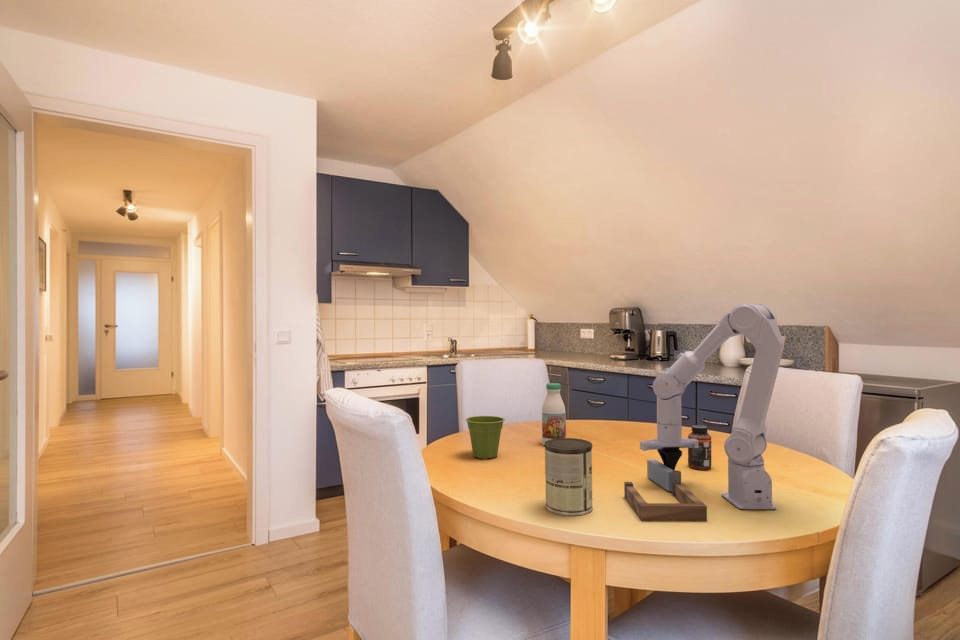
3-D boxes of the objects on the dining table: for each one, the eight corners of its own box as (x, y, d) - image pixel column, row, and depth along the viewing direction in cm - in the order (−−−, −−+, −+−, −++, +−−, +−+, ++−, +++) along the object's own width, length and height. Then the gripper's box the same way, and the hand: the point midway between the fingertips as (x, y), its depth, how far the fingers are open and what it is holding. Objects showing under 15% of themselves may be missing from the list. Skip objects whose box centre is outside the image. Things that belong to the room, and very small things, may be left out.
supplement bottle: (713, 471, 142) (713, 428, 142) (690, 470, 144) (690, 428, 144) (708, 465, 148) (708, 424, 148) (686, 464, 149) (686, 423, 149)
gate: (676, 491, 125) (676, 471, 125) (668, 491, 125) (668, 472, 125) (654, 476, 137) (654, 458, 137) (647, 476, 137) (646, 459, 137)
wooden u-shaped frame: (707, 520, 108) (707, 493, 108) (641, 520, 108) (641, 493, 108) (679, 493, 124) (679, 470, 124) (622, 493, 125) (622, 470, 125)
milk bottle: (537, 443, 175) (537, 383, 175) (557, 441, 178) (556, 381, 178) (550, 449, 168) (549, 385, 168) (570, 446, 171) (570, 384, 171)
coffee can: (541, 499, 121) (541, 438, 121) (586, 499, 121) (586, 437, 121) (549, 516, 111) (548, 449, 111) (598, 515, 111) (597, 448, 111)
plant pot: (511, 459, 156) (511, 420, 156) (474, 463, 152) (473, 424, 152) (495, 449, 167) (495, 414, 167) (460, 453, 163) (459, 417, 163)
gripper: (687, 418, 136) (687, 471, 136) (634, 420, 134) (634, 474, 134) (703, 424, 129) (703, 480, 129) (647, 426, 127) (647, 483, 127)
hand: (669, 478), depth 131 cm, fingers closed
